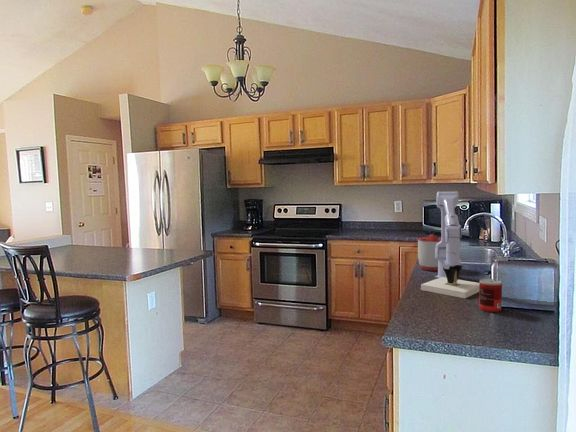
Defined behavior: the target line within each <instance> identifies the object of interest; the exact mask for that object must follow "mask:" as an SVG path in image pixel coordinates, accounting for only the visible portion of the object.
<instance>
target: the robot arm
mask: <svg viewBox="0 0 576 432" xmlns="http://www.w3.org/2000/svg"><path fill="white" fill-rule="evenodd" d="M435 199H436V208H438V209H440V213H441V221H440V222H441V224H440V225H441V227H440V228H441V229H440V230H441V231H440V233H441V236H440V238H441V241H440V242H438V243H437V244H436V248H435V258H436V259H438V271H437V275H435V276H434V278H436V279H438V278H440V277H445V278H447V281H448V283H452V284H453V282H454V276H455V272H456V271H457V280H459V277H460V276H459V275H460V273H461V270H462V269H463V265H462V259H461V258H460V257H461V239H462V236H463V235H462V234H463V231H462V226H461V224H460V222H459V216H458V215H457V214H456V213H455V212H456V211H455V208H456V207H457V205H458V204H459V201H460V197H459V192H458V190H456V191H437V192H436V198H435Z"/></svg>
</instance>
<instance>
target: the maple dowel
mask: <svg viewBox="0 0 576 432" xmlns="http://www.w3.org/2000/svg"><path fill="white" fill-rule="evenodd" d="M447 285H451V286H457V271H456V272H455V276H454V282H453V284H452V283H448V281H447Z"/></svg>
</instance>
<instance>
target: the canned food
mask: <svg viewBox="0 0 576 432" xmlns="http://www.w3.org/2000/svg"><path fill="white" fill-rule="evenodd" d="M493 279H494V278H482V279H479V282H478V283H479V292H478V294H479V295H478V296H479V297H478V308H479V310H480V311H482V310H483V311H482V312H485V311H486V312H485V313H493V312H495V313H500V312H501V311H502V305H503V304H502V302H503V299H502V298H503V297H502V295H503V291H502V290H503V282H502V281H501V280H499V281H495V280H496V279H495V280H493ZM499 311H500V312H499Z"/></svg>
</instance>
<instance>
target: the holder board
mask: <svg viewBox="0 0 576 432" xmlns="http://www.w3.org/2000/svg"><path fill="white" fill-rule="evenodd" d="M420 291H425V292H431V293H435V294H440V295H446V296H451V297H456V298H459V299H460V298H461V299H467V298H469V297H471V296H473V295H475V294H479V282H475V281H469V280H463V279H458V280H457V286H451V285H447V278H445V277H440V278H436V279H432V280H429V281H427V282H424V283H421V284H420Z"/></svg>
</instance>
